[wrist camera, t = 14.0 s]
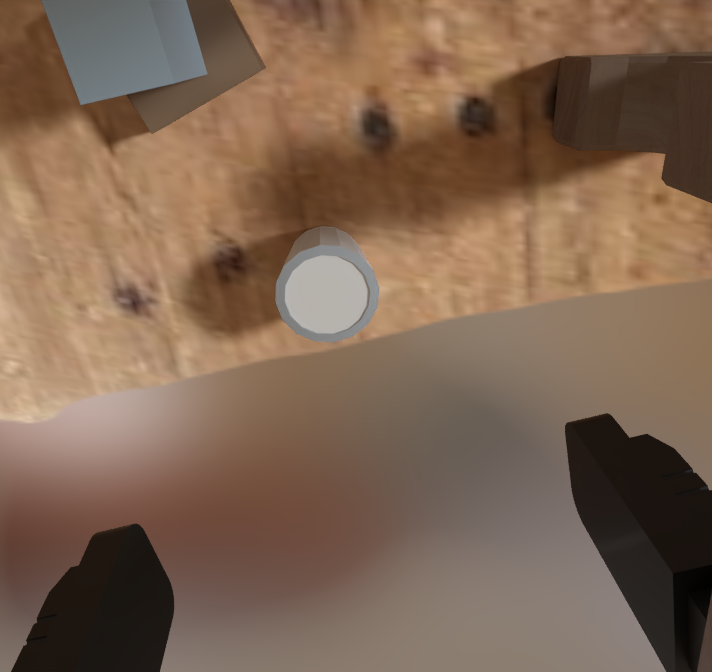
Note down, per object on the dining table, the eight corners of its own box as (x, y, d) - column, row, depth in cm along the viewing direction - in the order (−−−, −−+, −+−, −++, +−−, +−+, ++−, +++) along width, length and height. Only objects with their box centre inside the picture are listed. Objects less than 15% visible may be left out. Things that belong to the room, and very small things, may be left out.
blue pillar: (108, 9, 36) (40, -3, 27) (183, -9, 36) (140, -27, 27) (135, 91, 38) (80, 105, 29) (207, 74, 38) (174, 83, 29)
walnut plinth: (91, 9, 40) (69, 6, 36) (199, -58, 39) (187, -69, 35) (165, 126, 43) (151, 134, 39) (266, 67, 42) (262, 69, 38)
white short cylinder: (356, 313, 49) (363, 353, 43) (270, 293, 48) (264, 330, 42) (381, 230, 47) (392, 260, 40) (291, 207, 45) (287, 233, 39)
